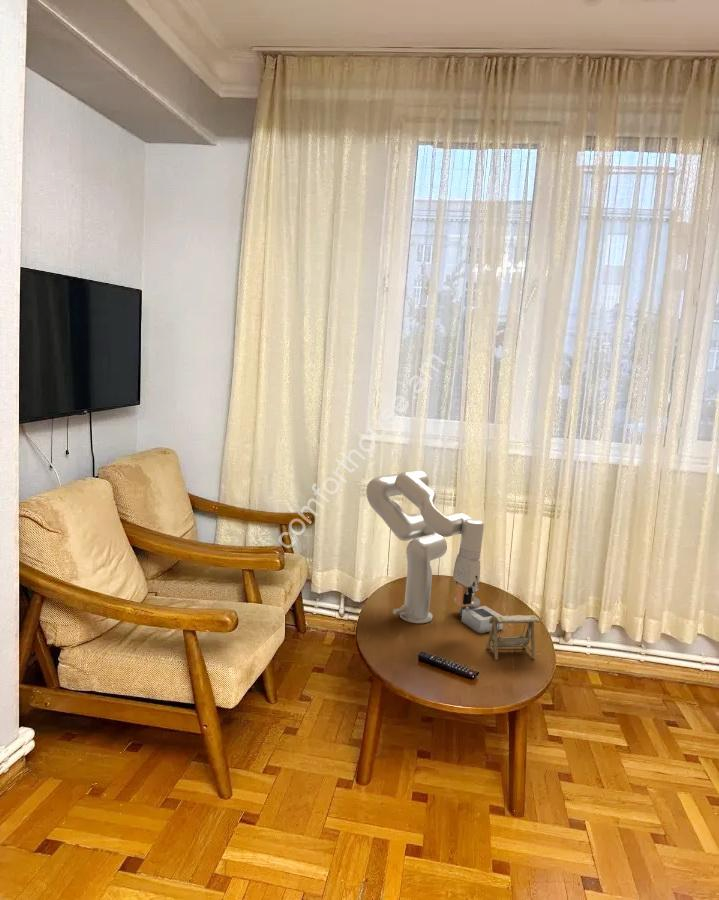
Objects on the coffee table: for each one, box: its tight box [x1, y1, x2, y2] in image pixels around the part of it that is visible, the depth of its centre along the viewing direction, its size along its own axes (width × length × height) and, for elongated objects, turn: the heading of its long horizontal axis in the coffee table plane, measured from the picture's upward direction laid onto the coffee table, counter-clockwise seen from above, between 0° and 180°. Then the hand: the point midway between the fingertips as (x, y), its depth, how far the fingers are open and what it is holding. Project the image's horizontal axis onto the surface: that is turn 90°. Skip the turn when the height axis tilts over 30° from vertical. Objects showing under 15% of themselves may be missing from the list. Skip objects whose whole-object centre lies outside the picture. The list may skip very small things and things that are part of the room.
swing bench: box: [485, 614, 541, 661], centre depth 235 cm, size 15×10×15 cm, turn 100°
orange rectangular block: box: [454, 583, 473, 608], centre depth 246 cm, size 3×5×8 cm, turn 118°
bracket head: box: [453, 592, 504, 634], centre depth 261 cm, size 11×20×20 cm, turn 28°
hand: (463, 601), depth 247 cm, fingers closed on orange rectangular block, 3 cm apart
